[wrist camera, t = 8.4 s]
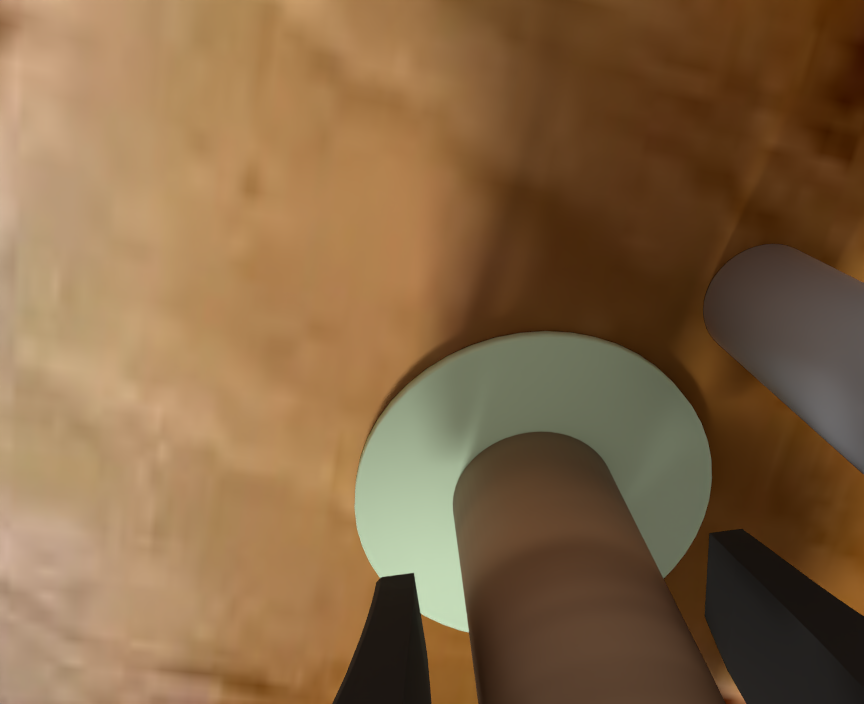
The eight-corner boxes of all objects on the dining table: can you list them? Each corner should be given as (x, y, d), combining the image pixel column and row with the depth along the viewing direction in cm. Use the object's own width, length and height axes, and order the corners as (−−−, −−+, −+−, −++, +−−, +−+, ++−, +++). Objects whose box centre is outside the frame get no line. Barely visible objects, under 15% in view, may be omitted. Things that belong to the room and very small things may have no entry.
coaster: (697, 602, 18) (703, 614, 17) (383, 644, 18) (382, 657, 17) (713, 307, 14) (721, 314, 14) (326, 358, 14) (324, 366, 14)
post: (812, 345, 15) (1064, 522, 9) (701, 361, 15) (888, 547, 9) (824, 236, 14) (1113, 362, 8) (705, 252, 14) (916, 390, 8)
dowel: (614, 553, 16) (757, 888, 10) (461, 573, 16) (507, 920, 10) (613, 421, 15) (781, 716, 8) (443, 443, 15) (485, 755, 8)
